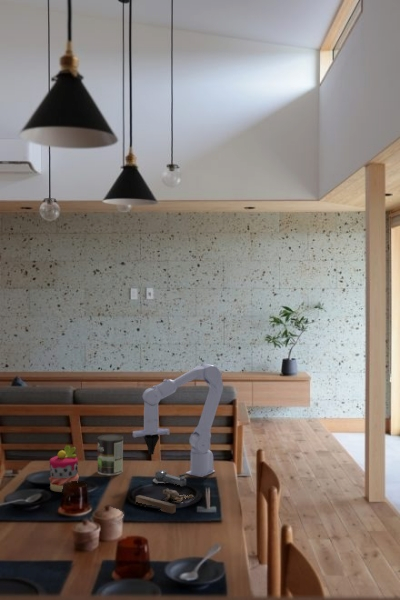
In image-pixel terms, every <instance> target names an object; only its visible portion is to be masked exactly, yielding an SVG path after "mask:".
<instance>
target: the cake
mask: <svg viewBox="0 0 400 600" xmlns="http://www.w3.org/2000/svg"><path fill="white" fill-rule="evenodd" d="M63 449H64V450H63ZM63 449H61V450H59V451H58V452H57V455H55V456H53V457H50V459H49V468H50V471H49V472H50V477H49V478H48V480H49V481H50V483H49V484H50V486H49V488H50V490H51V491H53V492H57V493H63V492H62V489H63V484H64V483H67V482H71V481H77V482H78V481H79V477H80V476H79V474H78V473H79V470H78V465H79V460H78V457H77V454H75V452H76V447H75V446H72V447H71V446H70V445H65V446H64V448H63Z"/></svg>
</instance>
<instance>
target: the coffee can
mask: <svg viewBox="0 0 400 600" xmlns="http://www.w3.org/2000/svg"><path fill="white" fill-rule="evenodd" d="M123 448H124V436H123V435H121V434H114V433H113V434H111V433H109V434H103V435H99V436H97V474H99V475H101V476H108V477H109V476H117V475H120V474H123V471H124V470H123V469H124V468H123V467H124V466H123V462H124V461H123V458H124V457H123V455H124V449H123Z"/></svg>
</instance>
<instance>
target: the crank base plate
mask: <svg viewBox="0 0 400 600" xmlns="http://www.w3.org/2000/svg"><path fill="white" fill-rule="evenodd" d="M152 483H154V484H158V483H164V484H168V483H169V482H166V481H158V480H156V479H155V478H153V479H152Z"/></svg>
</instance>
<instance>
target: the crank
mask: <svg viewBox="0 0 400 600" xmlns="http://www.w3.org/2000/svg"><path fill="white" fill-rule="evenodd" d="M185 476H186V472H185V473H184V472H183V473H181V474H179V476H175V475H171V474H169V473H168V472H167V470H163V469H160V470H155V478H154V479H156V480H158V481H166V482H168V483H170V484H174V485H175V484H177V485H180V486H179V487H184V486H187V479H186V477H185ZM177 485H176V486H177Z"/></svg>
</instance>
